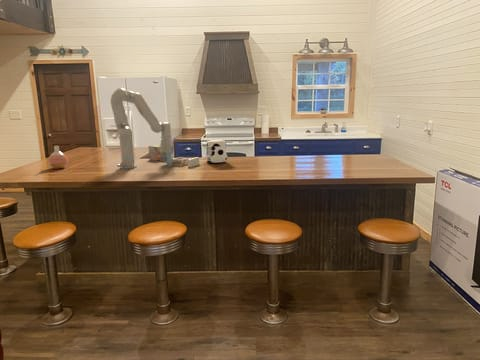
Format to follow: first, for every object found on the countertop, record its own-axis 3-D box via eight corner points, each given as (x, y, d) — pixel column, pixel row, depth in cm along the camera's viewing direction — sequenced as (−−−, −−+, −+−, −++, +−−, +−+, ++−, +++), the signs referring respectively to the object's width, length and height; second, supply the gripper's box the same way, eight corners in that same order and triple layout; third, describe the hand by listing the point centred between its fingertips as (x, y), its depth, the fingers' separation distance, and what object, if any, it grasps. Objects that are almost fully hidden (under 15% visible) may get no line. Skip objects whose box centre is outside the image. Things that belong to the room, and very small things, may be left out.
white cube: (228, 161, 297) (228, 139, 293) (225, 164, 281) (225, 142, 277) (208, 161, 299) (207, 139, 295) (204, 164, 282) (203, 142, 278)
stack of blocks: (170, 160, 303) (170, 146, 301) (165, 162, 299) (164, 147, 296) (154, 158, 316) (154, 145, 314) (149, 159, 312) (148, 145, 309)
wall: (189, 167, 269) (189, 159, 268) (187, 167, 270) (187, 159, 269) (199, 164, 281) (199, 157, 279) (197, 164, 281) (196, 157, 280)
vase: (60, 170, 269) (57, 147, 265) (45, 169, 271) (42, 146, 267) (72, 166, 282) (69, 144, 278) (57, 166, 284) (54, 144, 280)
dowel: (170, 168, 271) (169, 152, 268) (166, 167, 273) (165, 152, 270) (173, 167, 274) (172, 151, 272) (169, 166, 276) (168, 151, 274)
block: (180, 165, 275) (180, 160, 274) (170, 165, 279) (170, 159, 278) (188, 163, 283) (188, 158, 282) (178, 163, 288) (177, 157, 287)
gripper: (156, 138, 282) (157, 160, 286) (171, 138, 275) (172, 162, 279) (162, 137, 288) (163, 159, 293) (176, 137, 282) (178, 160, 286)
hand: (168, 160), depth 286 cm, fingers closed
